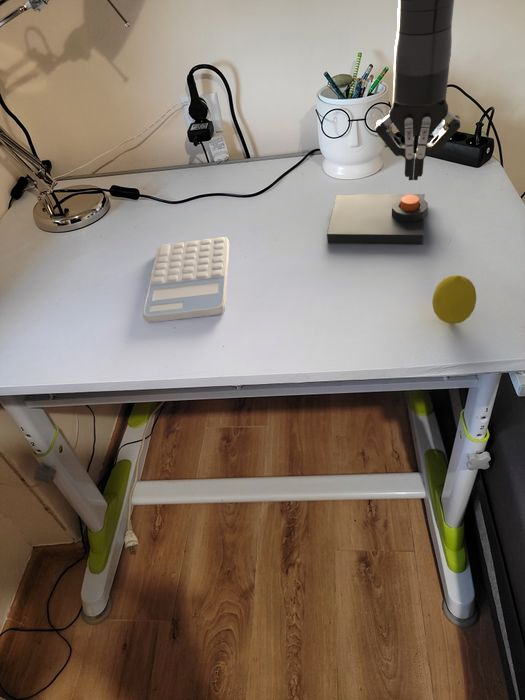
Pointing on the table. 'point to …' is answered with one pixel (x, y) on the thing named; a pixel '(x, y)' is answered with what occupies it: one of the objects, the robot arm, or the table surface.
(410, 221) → the scale
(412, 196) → the button
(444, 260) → the table surface
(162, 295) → the calculator
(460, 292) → the lemon
